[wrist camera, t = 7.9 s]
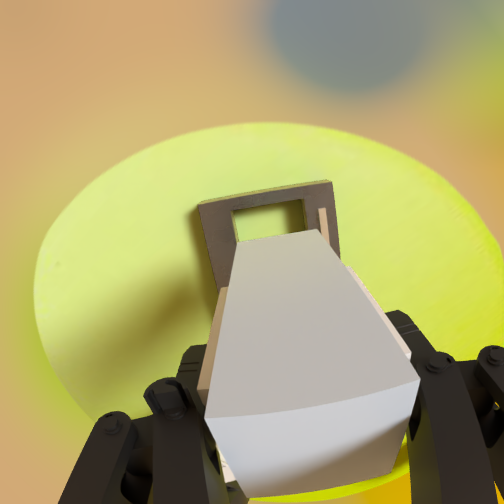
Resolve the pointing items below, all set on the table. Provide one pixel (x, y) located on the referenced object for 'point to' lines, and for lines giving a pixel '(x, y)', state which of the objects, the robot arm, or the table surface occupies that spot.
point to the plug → (305, 373)
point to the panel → (221, 209)
